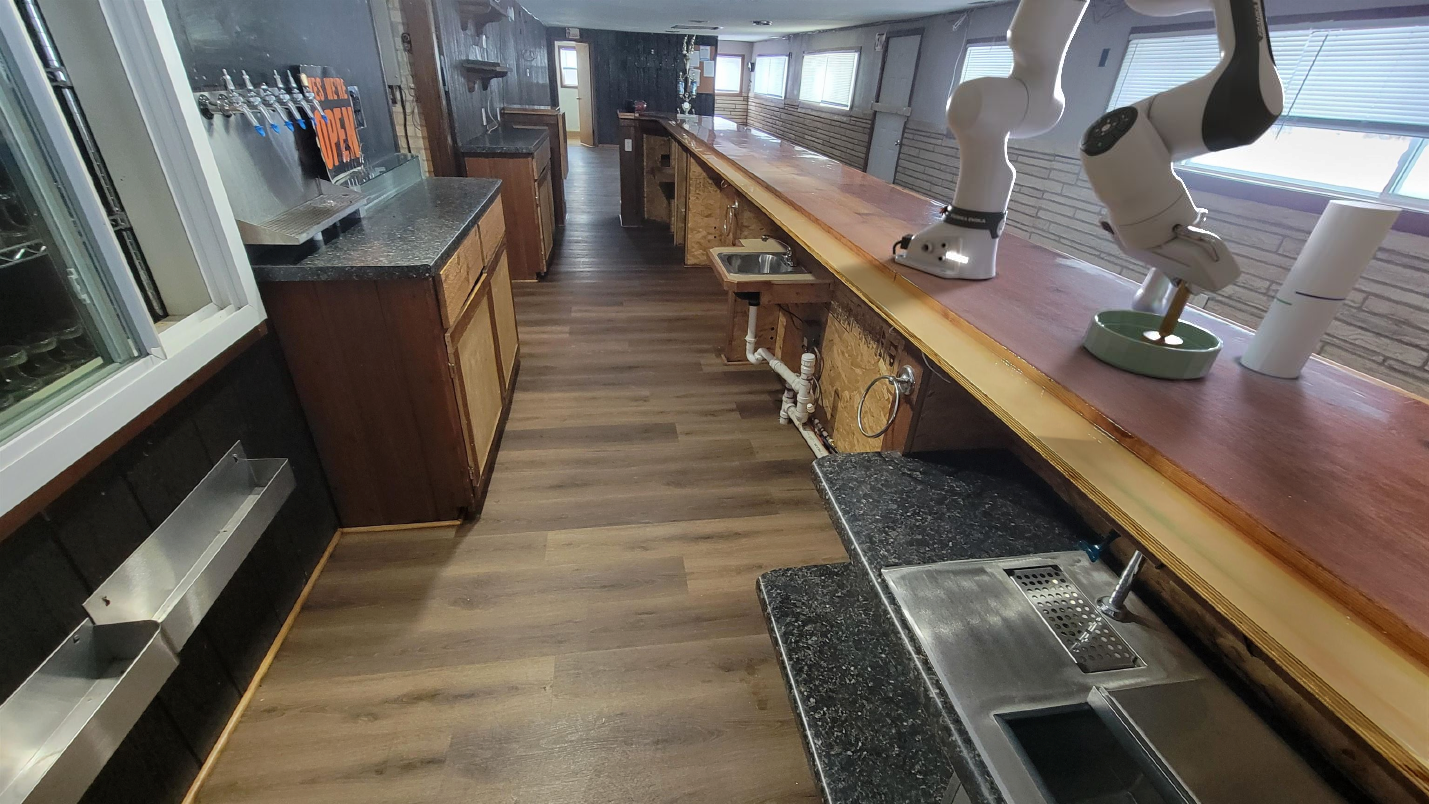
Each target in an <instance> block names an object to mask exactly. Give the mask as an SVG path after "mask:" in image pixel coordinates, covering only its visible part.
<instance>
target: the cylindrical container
mask: <svg viewBox="0 0 1429 804" xmlns="http://www.w3.org/2000/svg"><path fill="white" fill-rule="evenodd" d="M1402 212H1403V208H1400V207H1397V206H1393V205H1387V204H1382V203H1381V204H1380V203H1375V202H1374V203H1373V202H1366V201H1356V200H1345V199H1330V200H1329V202H1328V203H1327V205H1326V207H1325V209H1324V210H1323V212H1322V214H1321V216H1320V218H1319V219H1318V221H1317V223H1316V225H1315V227H1314V228H1313V230H1312V232H1311V233H1310V236H1309V237H1308V239H1307V240H1306V243H1305V244H1304V246H1303V248H1302V249H1301V251H1300V253H1299V255H1298V256H1297V259H1296V260H1295V262H1294V263H1293V265H1292V267H1291V269H1290V270H1289V272H1288V274H1287V276H1286V278H1285V280H1284V282H1283V283H1282V285H1281V287H1280V288H1279V290H1278V292H1277V293H1276V296H1275V298H1274V299H1273V301H1272V303H1271V304H1270V306H1269V308H1268V310H1267V311H1266V313H1265V315H1264V317H1263V318H1262V321H1261V322H1260V324H1259V326H1258V327H1257V329H1256V331H1255V333H1254V335H1253V337H1252V338H1251V340H1250V341H1249V344H1248V345H1247V348H1246V349H1245V350H1244V353H1243V354H1242V356H1241V358H1240V359H1239V363H1240V364H1241V365H1243V366H1244V367H1245V368H1248V369H1249V370H1252V371H1255V372H1258V373H1261V374H1264V375H1268V376H1271V377H1275V378H1276V377H1277V378H1284V379H1294V378H1297V377H1298V376H1299V375H1300V373H1301V372H1302V370H1303V369H1304V367H1305V366H1306V364H1307V362H1308V360H1310V357H1311V356H1312V354H1313V352H1314V351H1315V350H1316V348H1317V347H1318V345H1319V343H1320V341H1321V340H1322V338H1323V337H1324V335H1325V333H1326V332H1327V331H1328V329H1329V327H1330V325H1332V322H1333V321H1334V320H1335V318H1336V316H1337V314H1338V313H1339V311H1340V310H1341V308H1342V307H1343V305H1344V304H1345V302H1346V301H1347V298H1348V297H1349V296H1350V294H1351V292H1352V291H1353V289H1354V288H1355V286H1356V284H1357V283H1358V281H1359V279H1360V278H1361V276H1362V275H1363V273H1364V272H1365V270H1366V269H1367V267H1368V265H1369V264H1370V263H1371V261H1372V259H1373V258H1374V256H1375V254H1376V252H1377V251H1378V249H1379V248H1380V246H1381V245H1382V243H1383V241H1384V240H1385V238H1386V237H1387V235H1388V233H1389V232H1390V231H1391V229H1392V227H1393V226H1394V224H1395V223H1396V221H1397V219H1398V218H1399V216H1400V215H1401V213H1402Z"/></svg>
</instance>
